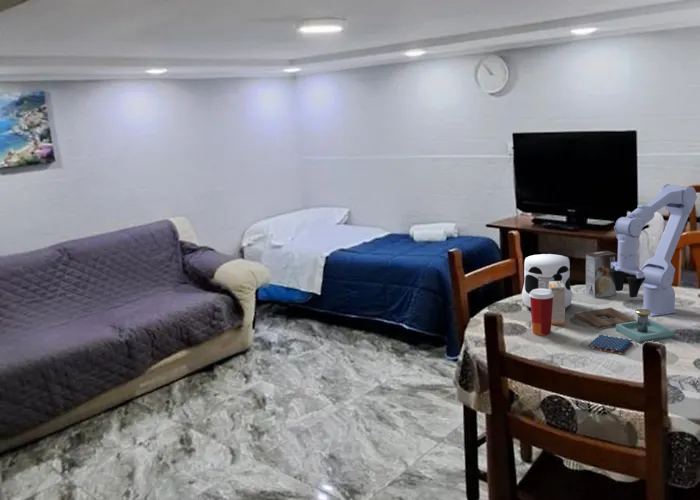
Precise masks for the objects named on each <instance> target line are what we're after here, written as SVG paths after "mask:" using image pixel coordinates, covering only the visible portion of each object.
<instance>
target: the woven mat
mask: <svg viewBox="0 0 700 500" xmlns="http://www.w3.org/2000/svg"><path fill="white" fill-rule="evenodd" d="M633 342H634V340H632V339H630V338H629V339H628V338H623V337H617V336H613V335H612V336H611V335H610V336H609V335H607V334H606V335H604V334H599V335H598V336H597V337H596V338H594V339H593V340H592V341H591V342H590V343H589V344H588V345H587V347H588V350H590V349H591V350H595V351H598V350H599V351H600V352H602V351H603V352H607V353H611V354H614V355H617V354H618V355H622V354H625V353H626V350H628V349H629V348H630V347H631V346H632V345H633V344H634V343H633Z"/></svg>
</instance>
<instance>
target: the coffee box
mask: <svg viewBox="0 0 700 500" xmlns="http://www.w3.org/2000/svg"><path fill="white" fill-rule="evenodd" d="M611 262H618V253H615V252H613V251H609V250H601V251H593V252H592V251H591V252H587V253H585V294H586V295H587V296H590V297H592V298H594V299H597V298H604V297H611V296H616V295H617V291H616V289H615V285H614V282H613V279H612V276H611V275H610V273H609V271H610V270H613V268H611Z"/></svg>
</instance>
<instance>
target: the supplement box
mask: <svg viewBox="0 0 700 500" xmlns="http://www.w3.org/2000/svg"><path fill="white" fill-rule="evenodd" d="M549 290H551V291H552V293H553V294H554V297H553V306H552V321H551V325H565V324H566V308H565V286H564V284H563V281H549Z"/></svg>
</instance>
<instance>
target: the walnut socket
mask: <svg viewBox="0 0 700 500" xmlns="http://www.w3.org/2000/svg"><path fill="white" fill-rule="evenodd" d="M574 316H575V317H576V318H578V319H579V320H582V321H584V322H585V323H586V324H589V325H591V326H592V327H594V328H596V329H599V330H600V329H606V328H612V327H616V324H620V323H626V322H633V321H637V319H636V318H633V317H631V316H629V315H627V314H625V313H623V312H621V311H618V310H617V309H615V308H613V307H607V308H606V307H605V308H598V309H594V310H586V311H578V312H574ZM601 317H609V318H605V319H602V318H601Z"/></svg>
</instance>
